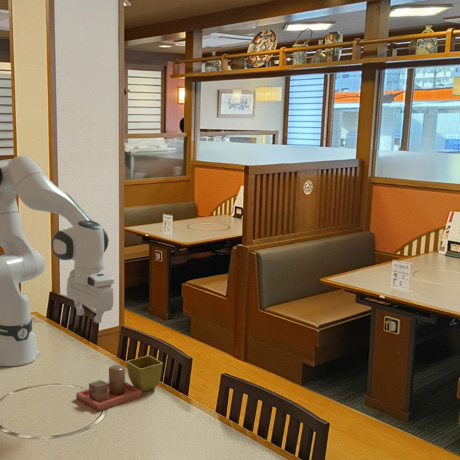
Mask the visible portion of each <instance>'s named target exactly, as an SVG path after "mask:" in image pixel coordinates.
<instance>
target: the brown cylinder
mask: <svg viewBox="0 0 460 460" xmlns="http://www.w3.org/2000/svg"><path fill="white" fill-rule="evenodd" d="M108 382H109V394H110V395H113V396H119V395H123V394H124V393H125V382H126V367H125V366H124V365H120V364H117V365H115V364H114V365H112V366H109V367H108Z"/></svg>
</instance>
